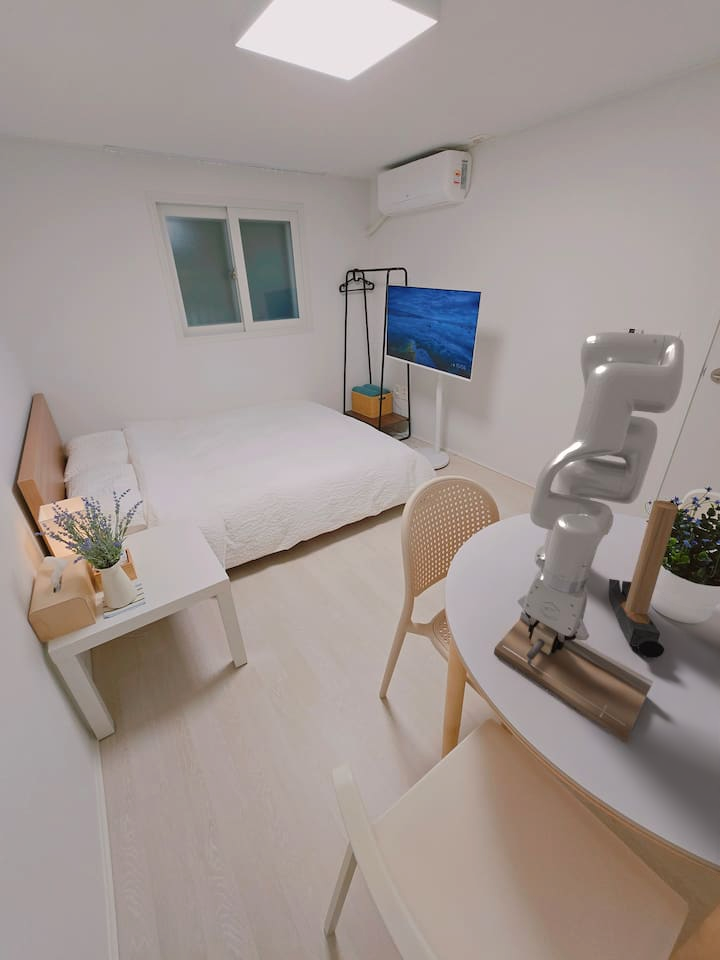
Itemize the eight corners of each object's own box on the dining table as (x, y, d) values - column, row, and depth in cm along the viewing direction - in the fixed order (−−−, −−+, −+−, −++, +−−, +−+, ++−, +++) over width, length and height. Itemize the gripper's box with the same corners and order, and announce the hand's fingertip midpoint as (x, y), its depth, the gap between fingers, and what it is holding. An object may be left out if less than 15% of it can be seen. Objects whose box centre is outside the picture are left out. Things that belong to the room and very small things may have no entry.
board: (520, 621, 92) (524, 608, 90) (645, 695, 76) (653, 681, 74) (493, 653, 85) (496, 639, 83) (625, 742, 68) (633, 727, 66)
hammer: (603, 599, 100) (632, 486, 91) (626, 603, 99) (657, 489, 90) (634, 655, 82) (673, 520, 73) (662, 660, 81) (706, 524, 71)
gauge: (539, 631, 87) (543, 616, 85) (557, 642, 84) (562, 627, 82) (518, 657, 81) (522, 642, 79) (538, 669, 79) (542, 654, 77)
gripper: (512, 564, 79) (498, 629, 87) (604, 610, 68) (578, 679, 77) (530, 547, 83) (515, 611, 92) (619, 588, 72) (593, 656, 81)
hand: (544, 641), depth 84 cm, fingers closed on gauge, 4 cm apart
